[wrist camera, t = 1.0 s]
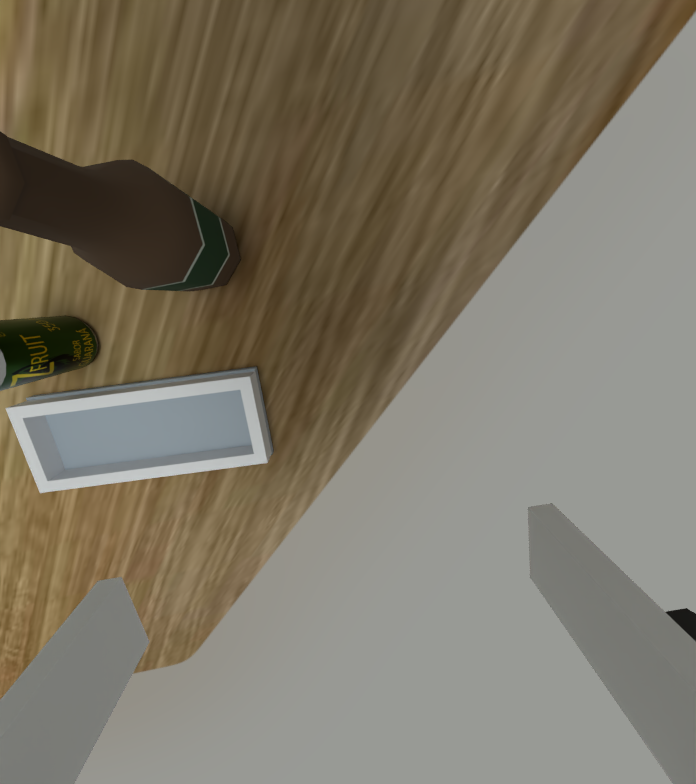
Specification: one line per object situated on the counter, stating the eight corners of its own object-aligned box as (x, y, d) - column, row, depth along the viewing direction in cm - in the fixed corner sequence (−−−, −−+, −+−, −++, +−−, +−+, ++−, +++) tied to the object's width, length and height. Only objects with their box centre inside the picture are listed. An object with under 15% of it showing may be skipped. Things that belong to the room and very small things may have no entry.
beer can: (50, 365, 37) (-80, 397, 25) (43, 313, 35) (-98, 321, 24) (104, 369, 37) (-1, 402, 25) (98, 317, 36) (-15, 327, 24)
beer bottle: (247, 218, 34) (61, 47, 11) (237, 299, 36) (61, 306, 13) (165, 198, 33) (-228, -30, 10) (159, 283, 35) (-181, 257, 12)
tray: (34, 395, 37) (4, 405, 34) (256, 366, 38) (249, 373, 34) (65, 478, 40) (41, 495, 37) (273, 451, 40) (268, 465, 37)
